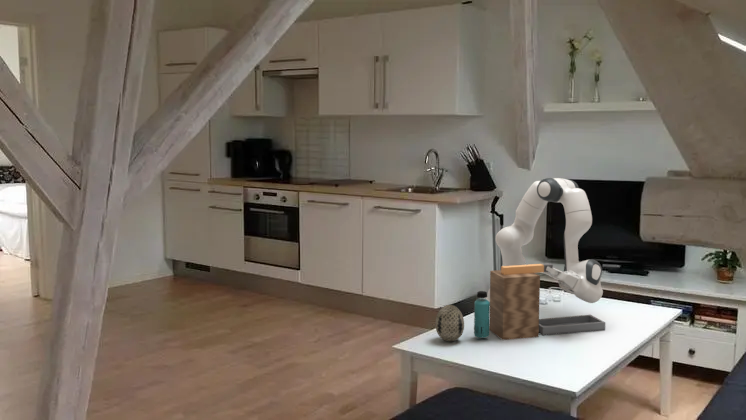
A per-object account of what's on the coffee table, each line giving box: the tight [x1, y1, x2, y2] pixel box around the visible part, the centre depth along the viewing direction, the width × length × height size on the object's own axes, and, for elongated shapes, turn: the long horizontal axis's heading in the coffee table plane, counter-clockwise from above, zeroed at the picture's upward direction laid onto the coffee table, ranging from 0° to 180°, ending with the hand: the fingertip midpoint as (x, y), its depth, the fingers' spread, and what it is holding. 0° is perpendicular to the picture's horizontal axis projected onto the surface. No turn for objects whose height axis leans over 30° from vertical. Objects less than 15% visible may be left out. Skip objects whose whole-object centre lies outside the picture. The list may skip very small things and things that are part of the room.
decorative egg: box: [435, 304, 465, 342], centre depth 288 cm, size 12×12×15 cm
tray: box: [539, 314, 606, 337], centre depth 304 cm, size 29×12×4 cm, turn 103°
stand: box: [489, 269, 541, 341], centre depth 297 cm, size 16×14×26 cm
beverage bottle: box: [473, 290, 490, 338], centre depth 290 cm, size 6×7×20 cm
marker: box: [500, 262, 554, 275], centre depth 296 cm, size 22×3×3 cm, turn 104°
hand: (543, 266), depth 298 cm, fingers closed on marker, 3 cm apart
